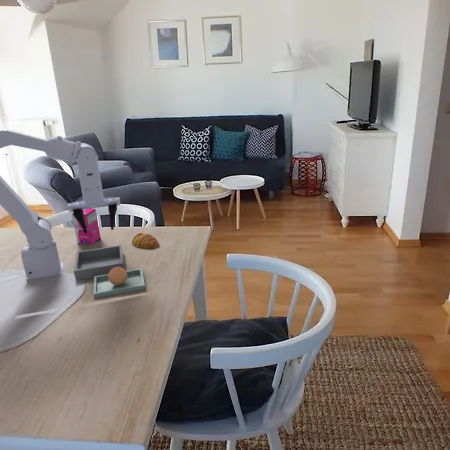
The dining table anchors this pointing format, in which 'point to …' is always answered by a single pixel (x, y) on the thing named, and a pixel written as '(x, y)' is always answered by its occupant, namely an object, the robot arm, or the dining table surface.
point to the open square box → (97, 261)
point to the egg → (117, 276)
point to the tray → (107, 288)
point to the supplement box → (91, 225)
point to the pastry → (145, 241)
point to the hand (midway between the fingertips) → (99, 230)
